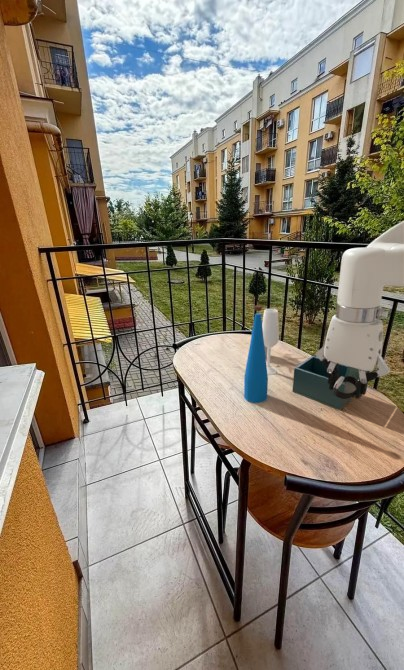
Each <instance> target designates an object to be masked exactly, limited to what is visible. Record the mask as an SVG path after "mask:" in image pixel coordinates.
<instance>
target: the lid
mask: <svg viewBox="0 0 404 670" xmlns="http://www.w3.org/2000/svg"><path fill="white" fill-rule="evenodd" d="M358 372H359V369H357V368H353V367H349V366H348V368H347V372H346V375H345V377H346V376H351V377H354V376H355V375H356V374H357V373H358ZM344 383H346V384H347V383H348V382H344Z"/></svg>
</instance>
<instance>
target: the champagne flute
mask: <svg viewBox="0 0 404 670" xmlns="http://www.w3.org/2000/svg"><path fill="white" fill-rule="evenodd" d="M262 322H263V323H262V328H263V338H264V345H265V346H266V347H267V348H268V349H267V357H266V365H267V375H268V376H272V375H275V374H277V373H278V371H277V368H274V367H273V366H271V353H272V348H273V347H275V346H276V345H277V344H279V341H280V330H279V325H278V324H279V310H278V309H276V308H265V309H264V310H263V316H262Z"/></svg>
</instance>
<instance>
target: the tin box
mask: <svg viewBox="0 0 404 670" xmlns="http://www.w3.org/2000/svg"><path fill="white" fill-rule="evenodd" d="M337 368H338V369H339V378H340V377H341V376H343V377H345V375H346V372H347V368H348V366H345V365H342V364H339V365H338V367H337ZM328 377H329V373H328V372H327V368H326V367H325V366H324V364H323V363H322V361H321V360H320V359H319V358H318V357H317V356H316V355H315V356H314V355H311V356H309V357H307V359H305V360H304V361H302V362H301V363H299V364H298V365H297V366H295V367H294V368H293V381H292V391H291V392H293V393H295V394H298V395H300V396H302V397H305V398H308V399H310V400H312V401H315V402H318V403H320V404H323V405H325V406H328V407H330V408H333V409H335V410H338V411H342V409H343V408H344V407H346V405H348V403H349V402H350V400H352V398H349V399H342V398H339V397H337V396H335V395H334V393H333V390H334V389H333V390H330V389H329V385H330V384H328ZM354 378H356V379H357V380H358V381H359V379H360V376H359V372H358V373H357V374H356V375H355V376H354ZM337 390H338V391H340V392H343V393H353V391H355V390H356V387H355V385H353V384H352V383H350V382H348V383H347V384H346V383H344V382H343V383H342V384H341V385H340V386H339V387H338V388H337Z"/></svg>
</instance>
